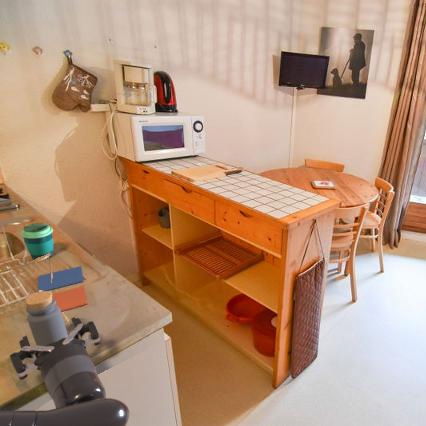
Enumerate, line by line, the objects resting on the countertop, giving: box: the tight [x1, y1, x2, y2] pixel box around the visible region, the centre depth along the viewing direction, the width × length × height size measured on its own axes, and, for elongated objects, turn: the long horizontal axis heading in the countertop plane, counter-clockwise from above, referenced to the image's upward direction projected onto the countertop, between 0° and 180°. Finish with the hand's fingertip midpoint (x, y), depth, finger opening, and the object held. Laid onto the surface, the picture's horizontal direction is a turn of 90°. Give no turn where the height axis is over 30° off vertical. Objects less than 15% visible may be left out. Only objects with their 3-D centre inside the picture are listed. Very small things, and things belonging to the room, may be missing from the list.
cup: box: [20, 222, 54, 261], centre depth 109 cm, size 8×8×12 cm
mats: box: [37, 265, 88, 313], centre depth 96 cm, size 11×23×1 cm, turn 38°
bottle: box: [24, 290, 69, 346], centre depth 74 cm, size 6×6×15 cm
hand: (50, 329), depth 71 cm, fingers open, 8 cm apart
